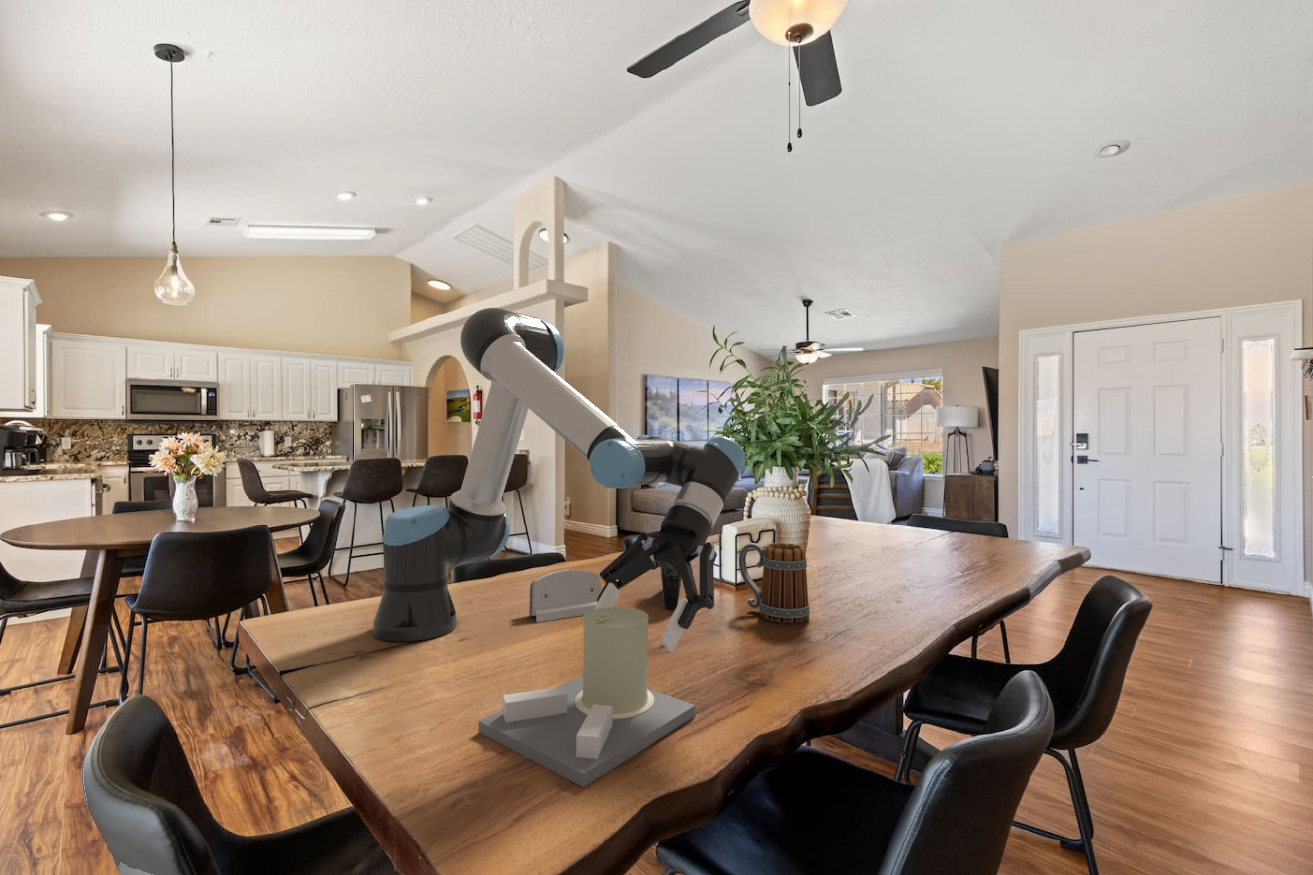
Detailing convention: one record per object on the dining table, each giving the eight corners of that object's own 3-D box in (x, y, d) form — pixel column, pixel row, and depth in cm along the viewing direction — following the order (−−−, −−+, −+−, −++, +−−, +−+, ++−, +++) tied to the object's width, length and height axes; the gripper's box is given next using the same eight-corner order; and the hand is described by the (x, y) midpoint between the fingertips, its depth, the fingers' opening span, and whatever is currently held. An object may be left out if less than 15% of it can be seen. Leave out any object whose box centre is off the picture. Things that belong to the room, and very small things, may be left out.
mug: (816, 614, 130) (817, 545, 130) (799, 627, 121) (800, 553, 121) (749, 603, 138) (750, 537, 138) (729, 614, 129) (730, 544, 129)
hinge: (535, 622, 122) (530, 572, 125) (528, 624, 126) (523, 576, 129) (610, 611, 131) (603, 564, 134) (601, 613, 135) (595, 568, 137)
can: (568, 699, 84) (568, 612, 84) (616, 679, 91) (616, 599, 90) (613, 720, 77) (614, 627, 77) (661, 698, 84) (662, 612, 84)
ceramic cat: (659, 587, 151) (660, 507, 151) (685, 588, 151) (686, 508, 151) (657, 610, 131) (658, 519, 131) (686, 611, 131) (687, 519, 131)
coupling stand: (478, 732, 78) (478, 701, 78) (595, 679, 94) (595, 654, 94) (583, 787, 66) (583, 750, 66) (695, 716, 83) (695, 686, 83)
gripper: (768, 541, 91) (712, 671, 79) (642, 523, 107) (579, 629, 95) (751, 510, 87) (689, 642, 75) (622, 496, 102) (554, 603, 91)
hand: (628, 635), depth 85 cm, fingers open, 13 cm apart
